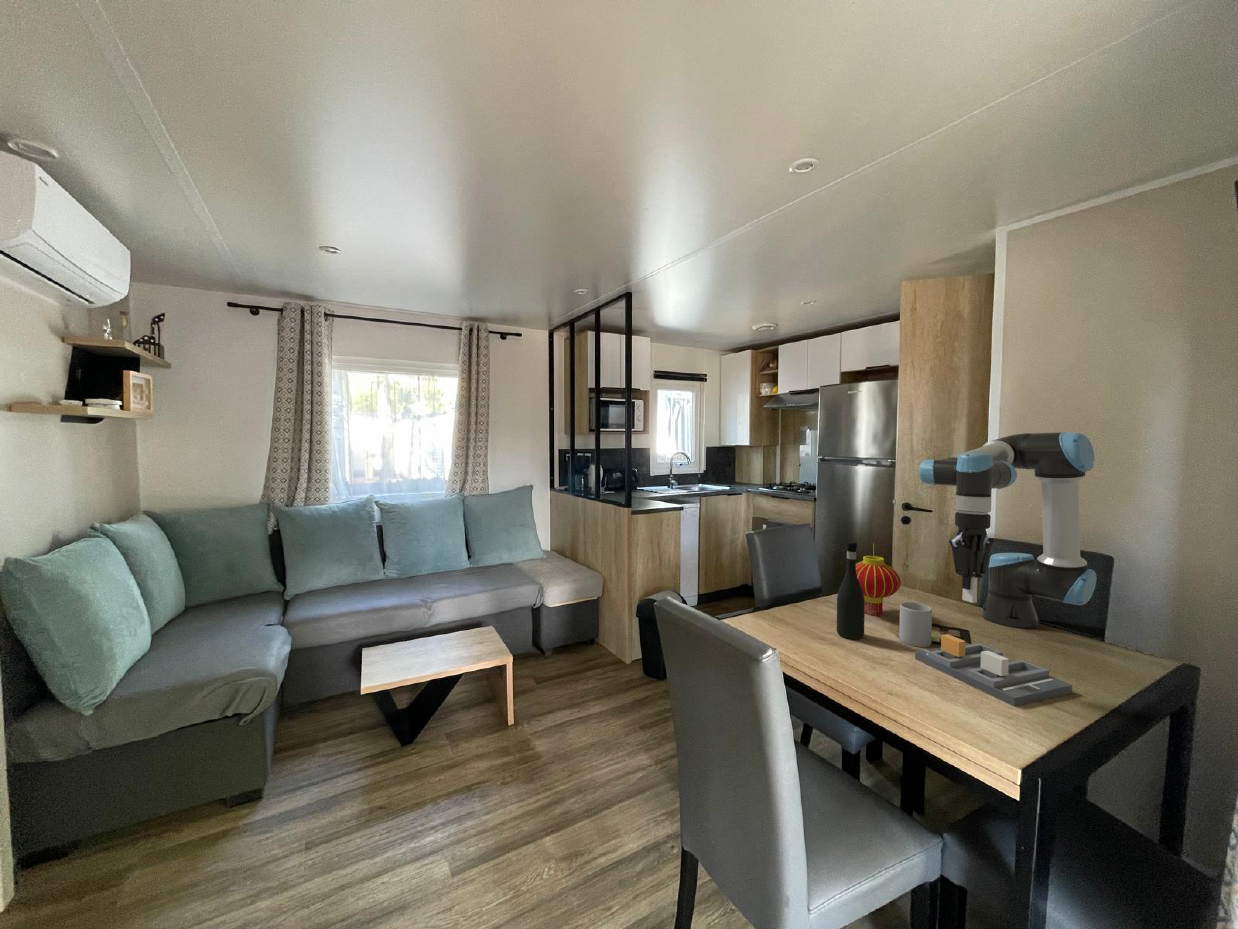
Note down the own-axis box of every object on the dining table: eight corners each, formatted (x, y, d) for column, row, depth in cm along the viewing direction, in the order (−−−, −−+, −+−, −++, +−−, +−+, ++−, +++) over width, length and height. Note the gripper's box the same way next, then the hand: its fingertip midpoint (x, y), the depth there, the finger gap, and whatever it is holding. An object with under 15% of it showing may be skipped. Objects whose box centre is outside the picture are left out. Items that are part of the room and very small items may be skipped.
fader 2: (988, 672, 123) (988, 650, 123) (1008, 681, 118) (1009, 658, 118) (979, 674, 122) (980, 652, 122) (1000, 683, 117) (1000, 660, 117)
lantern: (836, 605, 180) (837, 527, 179) (879, 604, 182) (881, 526, 181) (864, 622, 163) (866, 535, 162) (911, 620, 165) (913, 534, 164)
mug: (928, 649, 142) (929, 613, 141) (895, 641, 147) (896, 606, 147) (936, 637, 150) (936, 603, 150) (905, 630, 156) (905, 597, 156)
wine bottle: (842, 628, 158) (843, 538, 157) (867, 635, 152) (869, 542, 151) (832, 635, 152) (833, 542, 151) (858, 642, 147) (860, 546, 146)
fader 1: (948, 654, 133) (948, 634, 133) (965, 662, 129) (966, 641, 128) (940, 656, 133) (940, 635, 132) (957, 663, 128) (958, 642, 127)
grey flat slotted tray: (966, 649, 142) (967, 637, 142) (1072, 693, 117) (1072, 679, 117) (914, 658, 136) (915, 646, 136) (1014, 706, 111) (1014, 691, 111)
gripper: (976, 509, 131) (973, 595, 132) (940, 511, 127) (937, 598, 128) (1005, 513, 124) (1002, 603, 124) (968, 514, 120) (964, 607, 121)
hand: (969, 601), depth 126 cm, fingers closed
